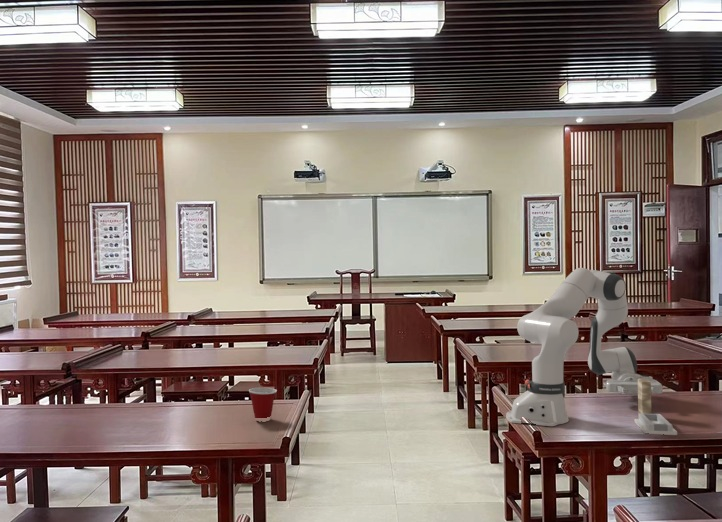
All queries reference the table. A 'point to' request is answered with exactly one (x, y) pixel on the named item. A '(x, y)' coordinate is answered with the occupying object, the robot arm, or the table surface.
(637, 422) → the floor track
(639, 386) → the tan wooden block
